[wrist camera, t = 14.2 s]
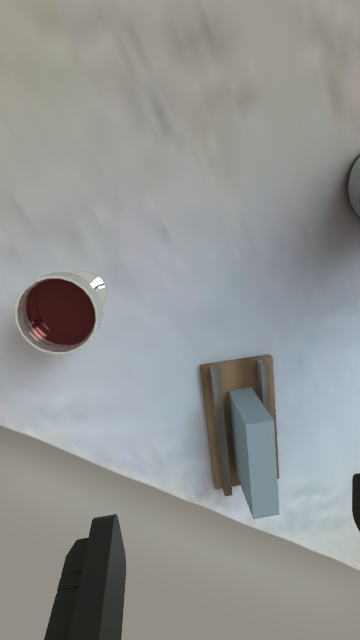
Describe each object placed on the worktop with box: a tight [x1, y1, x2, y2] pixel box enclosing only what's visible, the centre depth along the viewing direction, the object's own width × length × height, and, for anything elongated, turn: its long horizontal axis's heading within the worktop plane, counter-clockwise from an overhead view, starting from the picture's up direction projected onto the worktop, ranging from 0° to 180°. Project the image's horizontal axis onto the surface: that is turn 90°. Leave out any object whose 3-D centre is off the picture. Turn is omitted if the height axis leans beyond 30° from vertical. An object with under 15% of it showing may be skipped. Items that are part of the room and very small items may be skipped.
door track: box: [201, 355, 279, 496], centre depth 43 cm, size 9×18×2 cm, turn 7°
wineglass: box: [14, 272, 106, 355], centre depth 33 cm, size 7×7×12 cm
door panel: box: [228, 387, 279, 519], centre depth 40 cm, size 3×12×8 cm, turn 7°
